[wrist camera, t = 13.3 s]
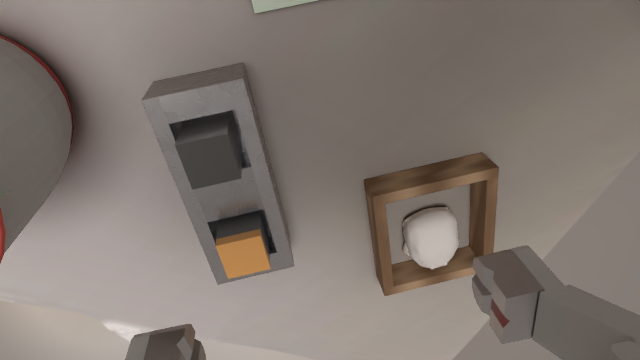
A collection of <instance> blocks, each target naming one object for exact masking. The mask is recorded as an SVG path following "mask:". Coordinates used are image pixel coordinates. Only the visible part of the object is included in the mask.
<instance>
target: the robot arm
mask: <svg viewBox="0 0 640 360" xmlns="http://www.w3.org/2000/svg"><path fill="white" fill-rule="evenodd" d="M472 268H473V269H474V271H475V272H476V274H475V276H474V277H473V278H472V289H473V293H474V297H475V299H476V302H477V304H478V306H479V307H480V309H481V311H482V312H484V313H486V314H488V315H489V316H490V326H491V327H492V329H493V331H494V332H495V334H496V336H497V337H498V339H499V340H500V342H501V343H502V344H504V343H509V342H514V341H519V340H523V339H529V338H532V339H533V340H534V341H535V342H537V343H539V344H540V345H541V346H543V347H544V348H546V349H547V350H549V351H550V352H552V353H553V354H555V355H556V356H558V357H559V358H560V359H562V360H640V315H637V314H635V313H633V312H631V311H628V310H626V309H624V308H621V307H619V306H617V305H615V304H612V303H610V302H608V301H606V300H603V299H601V298H599V297H597V296H594V295H592V294H590V293H587V292H585V291H583V290H581V289H578V288H576V287H574V286H571V285H567V286H564V285H563V283H562V282H561V281H560V280H559V279H558V278H557V277H556V276H555V275H554V273H553V272H552V271H551V270H550V269H549V268H548V267H547V266H546V264H545V263H544V262H543V261H542V260H541V259H540V258H539V257H538V256H537V254H536V253H535V252H534V251H533V250H532V249H531V248H530V247H529V246H527V245H525V246H521V247H517V248H512V249H509V250H503V251H499V252H495V253H491V254H487V255H483V256H479V257H475V258H474V260H473V266H472ZM194 337H195V330H194V328H193V327H192V325H191V324H185V325H180V326H175V327H170V328H165V329H160V330H155V331H152V332H147V333H142V334H137V335H135V336H134V337H133V339H132V340H131V342H130V346H129V349H128V352H127V356H126V359H125V360H206V355H205V351H204V348H203V346H202V344H201V342H200V341H198V340H196V339H194Z"/></svg>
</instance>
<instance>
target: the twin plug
mask: <svg viewBox="0 0 640 360" xmlns="http://www.w3.org/2000/svg"><path fill="white" fill-rule="evenodd" d="M175 147H176V150H177V152H178V155H179V157H180V160H181V162H182V165H183V168H184V170H185V173H186V175H187V178H188V180H189V183H190V185H191V188H192V190H194V189H198V188H202V187H207V186H211V185H216V184H220V183H224V182H229V181H233V180H238V179H242V141H241V138H240V134H239V131H238V128H237V124H236V121H235V117H234V114H233V111H232V110H230V111H226V112H221V113H216V114H212V115H207V116H203V117H198V118H194V119H189V120H185V121H183V123H182V126H181V129H180V132H179V135H178V138H177V141H176V144H175Z"/></svg>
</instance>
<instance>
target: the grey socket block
mask: <svg viewBox="0 0 640 360" xmlns="http://www.w3.org/2000/svg"><path fill="white" fill-rule="evenodd" d="M141 101H142V104H143V106H144V108H145V111H146V113H147V116H148V118H149V120H150V123H151V125H152V128H153V130H154V133H155V135H156V137H157V140H158V142H159V145H160V147H161V149H162V152H163V154H164V157H165V159H166V161H167V164H168V166H169V169H170V171H171V173H172V176H173V178H174V181H175V183H176V185H177V188H178V190H179V193H180V195H181V197H182V200H183V202H184V205H185V207H186V209H187V212H188V214H189V217H190V219H191V221H192V224H193V226H194V229H195V231H196V233H197V236H198V238H199V241H200V243H201V245H202V248H203V250H204V253H205V255H206V257H207V260H208V262H209V265H210V267H211V270H212V272H213V274H214V277H215V279H216V282H217V284H218V285H219V284H223V283H227V282H231V281H235V280H239V279H244V278H248V277H252V276H256V275H260V274H264V273H269V272H273V271H277V270H281V269H285V268H289V267H293V266H294V261H293V255H292V248H291V242H290V236H289V232H288V228H287V225H286V221H285V217H284V213H283V210H282V206H281V202H280V198H279V195H278V191H277V187H276V183H275V180H274V176H273V172H272V168H271V165H270V161H269V157H268V153H267V150H266V146H265V142H264V138H263V135H262V131H261V127H260V123H259V120H258V116H257V112H256V108H255V105H254V101H253V97H252V93H251V90H250V86H249V82H248V79H247V75H246V71H245V67H244V64H243V63H239V64H235V65H230V66H225V67H221V68H216V69H211V70H207V71H202V72H197V73H193V74H188V75H183V76H179V77H174V78H169V79H165V80H160V81H155V82H153V83H152V85H151V86H150V88H149V89H148V91H147V92H146V94H145V95H144V97H143V99H142V100H141ZM230 110H232V111H233V114H234V117H235V121H236V124H237V128H238V131H239V134H240V138H241V141H242V179H238V180H233V181H229V182H224V183H220V184H216V185H211V186H207V187H202V188H198V189H194V190H192V188H191V185H190V183H189V180H188V178H187V175H186V173H185V170H184V168H183V165H182V162H181V160H180V157H179V155H178V152H177V150H176V147H175V144H176V141H177V138H178V135H179V132H180V129H181V126H182V123H183V121H185V120H189V119H194V118H198V117H203V116H207V115H212V114H216V113H221V112H226V111H230ZM262 209H263V212H264V216H265V219H266V222H267V228H268V241H269V253H270V265H271V269H268V270H264V271H260V272H256V273H252V274H248V275H243V276H239V277H235V278H231V279H228V277H227V274H226V272H225V269H224V267H223V264H222V262H221V259H220V256H219V254H218V251H217V249H216V236H217V226H218V220H219V219H224V218H228V217H232V216H237V215H241V214H245V213H249V212H254V211H258V210H262Z"/></svg>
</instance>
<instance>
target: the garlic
mask: <svg viewBox="0 0 640 360" xmlns="http://www.w3.org/2000/svg"><path fill="white" fill-rule="evenodd" d="M402 226H403V229H404V230H403V235H404V239H405V243H404V246H403V251H404V252H405V253H406V254H407V255H408V256H411V257H412V259H413V260H414V261H415V262H417V263H418V264H419V265H420V266H422V267H426V268H430V269H434V268H438V267H441V266H446V265H447V263H448V261H449V260H450V259H451V258H452V257H453V256H454V254H455V251H456V250H457V248H458V245H459V239H458V228H457V222H456V219H455V216H454V215H453V213H452V212H450V211H449V210H448V207H435V208H428V209H424V210H421V211H419V212H417V213H415V214H413V215H411V216H410V217H408V218H407V219H405V220H404V221H403V224H402Z"/></svg>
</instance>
